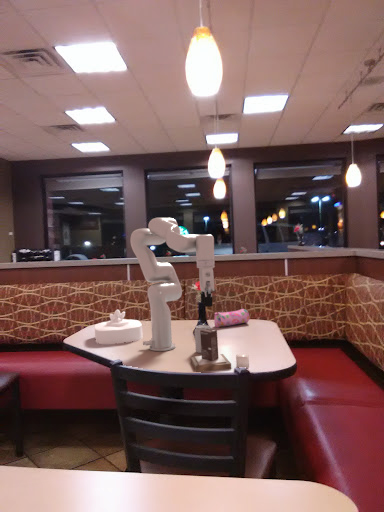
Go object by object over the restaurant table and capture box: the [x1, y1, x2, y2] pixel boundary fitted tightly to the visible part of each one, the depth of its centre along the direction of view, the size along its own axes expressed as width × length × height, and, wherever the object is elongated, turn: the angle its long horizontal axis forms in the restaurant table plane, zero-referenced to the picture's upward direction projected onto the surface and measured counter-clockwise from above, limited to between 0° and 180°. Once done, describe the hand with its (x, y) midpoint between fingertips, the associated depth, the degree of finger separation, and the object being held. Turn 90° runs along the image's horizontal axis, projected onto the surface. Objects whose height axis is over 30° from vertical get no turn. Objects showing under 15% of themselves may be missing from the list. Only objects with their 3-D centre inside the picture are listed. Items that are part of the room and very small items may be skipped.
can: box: [194, 324, 211, 354], centre depth 183 cm, size 8×8×12 cm
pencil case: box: [213, 308, 250, 328], centre depth 238 cm, size 21×9×9 cm, turn 112°
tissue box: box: [94, 308, 144, 345], centre depth 219 cm, size 25×25×16 cm
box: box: [200, 328, 219, 361], centre depth 163 cm, size 6×4×12 cm
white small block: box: [235, 353, 250, 369], centre depth 159 cm, size 5×5×4 cm
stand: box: [190, 353, 232, 373], centre depth 163 cm, size 14×14×2 cm
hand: (206, 304), depth 168 cm, fingers open, 9 cm apart
